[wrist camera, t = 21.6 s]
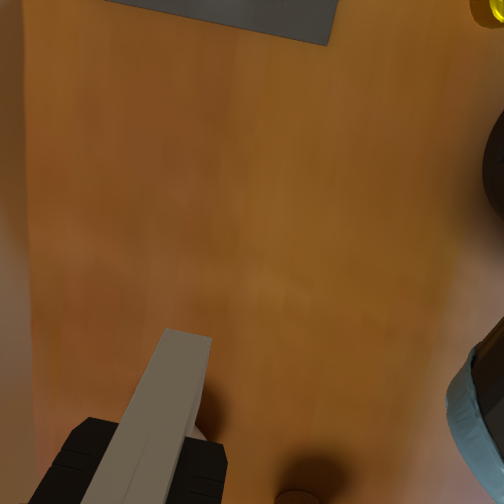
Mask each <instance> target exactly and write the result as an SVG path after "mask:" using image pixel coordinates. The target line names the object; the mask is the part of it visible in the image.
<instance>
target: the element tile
mask: <svg viewBox="0 0 504 504" xmlns="http://www.w3.org/2000/svg"><path fill="white" fill-rule="evenodd" d="M470 9H471V13H472V16H473V18H474V20H475V21H476V22H477V23H478V24H479V25H480V26H482V27H486V28H490V29H494V28H504V0H470Z"/></svg>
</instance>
